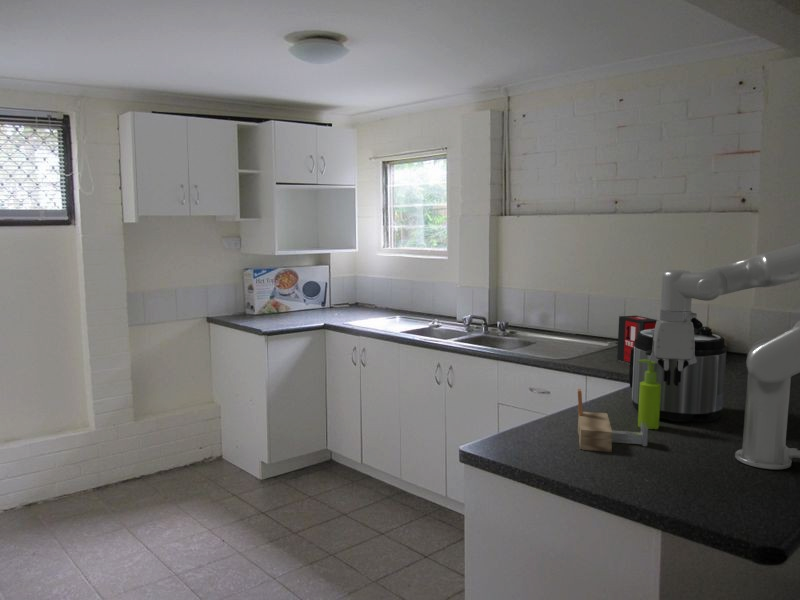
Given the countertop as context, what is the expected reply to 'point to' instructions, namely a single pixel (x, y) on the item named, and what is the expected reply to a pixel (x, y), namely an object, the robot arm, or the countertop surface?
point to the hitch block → (594, 432)
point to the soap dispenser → (649, 398)
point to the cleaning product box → (631, 333)
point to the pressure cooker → (685, 377)
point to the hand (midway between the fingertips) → (671, 384)
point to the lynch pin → (631, 436)
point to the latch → (580, 402)
